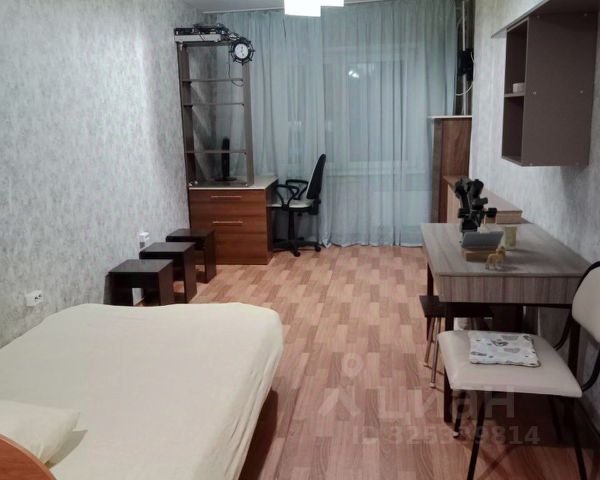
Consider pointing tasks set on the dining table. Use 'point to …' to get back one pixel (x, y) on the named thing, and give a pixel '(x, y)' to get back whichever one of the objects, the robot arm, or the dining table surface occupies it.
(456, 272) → the dining table surface
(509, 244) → the skincare box
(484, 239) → the lid
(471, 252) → the walnut box
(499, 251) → the lion figurine
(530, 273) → the dining table surface
